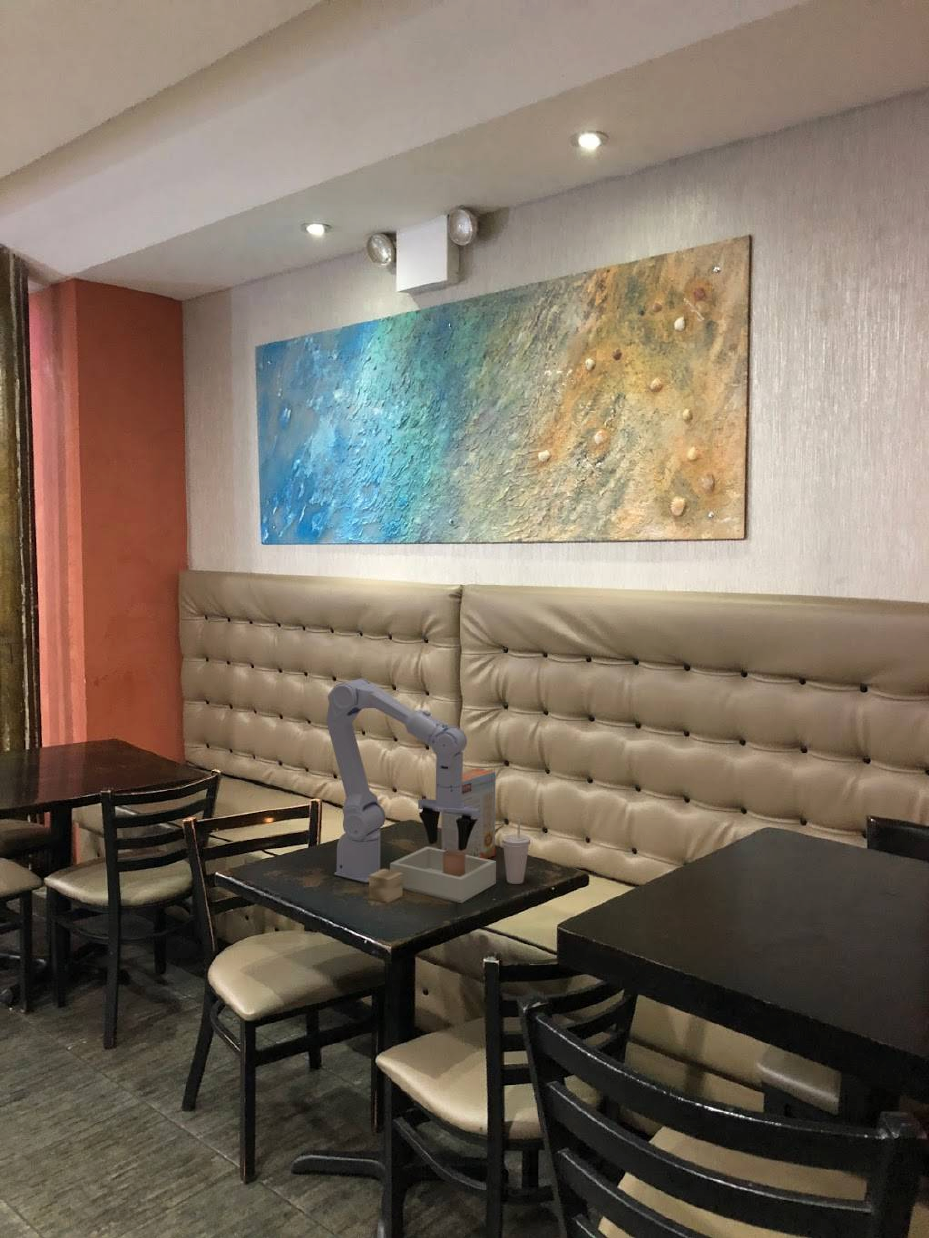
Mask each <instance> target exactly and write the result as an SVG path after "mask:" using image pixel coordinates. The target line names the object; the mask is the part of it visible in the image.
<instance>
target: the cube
mask: <svg viewBox="0 0 929 1238" xmlns="http://www.w3.org/2000/svg"><path fill="white" fill-rule="evenodd" d="M368 883H369V886H368V887H369V888H368V892H369V893H368V894H369V895H368V899H372V900H375V901H380V902H383V903H387V904H389V903H391V902H393V901H396V900H397V899H398V898H401V897H403V889H402V887H403V873H400V872H396V871H391V870H390V869H387V868H382V870H380V871H378V872H375V873H373V874H371V875H369V882H368Z"/></svg>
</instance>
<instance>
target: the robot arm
mask: <svg viewBox="0 0 929 1238" xmlns="http://www.w3.org/2000/svg"><path fill="white" fill-rule="evenodd" d="M327 700H328V703H329V704H328V709H327V715H326V725H327V728H328V732H329V737H330V741H331V743H332V748H333V752H334V755H335V760H336V765H337V768H338V770H339V775H340V779H341V781H342V786H343V790H344V793H345V801H344V803H343V806H342V814H343V820H342V827H343V828H342V829H343V831H344V833H343V834H342V835H341V836H340V837H339V838H338V841H337V843H336V844H337V846H336V871H335V872H334V875H335V876H338V877H343V878H346V879H349V880H354V881H357V882H358V881H359V882H361V883H365V884H368V883H369V875H371V874H373V873H375V872H378V871H380V870H382V869H383V868H382V869H381V828H382V827H383V826H384V825H385V822H386V817H387V816H386V811H385V810H384V808H383V807H382V805H381V804H380V802H379V799H378V797H377V795H376V794H375V793H373V791H371V789H370V786H369V783H368V779H367V775H366V772H365V768H364V764H363V759H362V756H361V752H360V749H359V745H358V741H357V736H356V733H355V729H354V726H353V722H355V721H354V720H356V718H357V716H358V715H359V713H360V711H362V710H363V709H365V710H366V709H376V710H378V711H379V712H380V713H381V712H382V713H383V714H385V715H387V716H389V717H390V718H392V719H394V720H396V721H398V722H399V723H401V724H403V725H404V726H405V729H406V732H407V733H408V734H409V735H411V736H413V737H414V738H416V739H418V740H419V741H421V742H423V743H424V744H426V745H427V746H428V747H431V749H432V751H433V753H434V755H435V756H436V758H435V759H436V760H435V761H436V763H435V765H436V766H435V798H434V799H433V798H431V799H429V798H421V799H418V801H417V802H418V803H417V806H418V807H417V809H418V810H421V811H420V812H419V814H418V816H419V818H420V820H421V821H422V824H423V826H424V828H425V831H426V835H427V840H428V844H429V845H433V844H435V843H437V842H438V835H439V834H438V831H439V830H438V829H439V819H440V816H441V815H440V814H441V813H442V812H443V813H448V814H454V815H459V816H462V818H459V819H457V820H456V823H457V827H458V834H459V844H458V846H459V850H460V851H462V850H464V849H466V848H467V844H468V840H469V837H470V834H471V831H472V829H473V827H474V825H475V823H476V822H477V820H478V818H479V817H480V809H478V808H474V807H471V806H468V805H465V804H463V803H462V773H463V769H464V767H463V764H464V763H463V760H464V759H463V755H464V753H463V751H464V750H465V748H466V747H467V744H468V739H467V735H466V734H465V732H464V731H463V730H462V729H460V727H459V726H453V725H452V726H449V723H447V722H445V721H444V722H442V721H441V720H439V719H437V718H435V717H433V716H432V715H431V714H432V712H430V711H429V710H422V709H419V710H414V711H413V710H412V709H411V708H409V707H408V706H406V705H404V704H403V703H402V702H400V701H399V700H397V699H396V698H394V697H393V696H391V695H390V694H388V692H386V691H384V690H382V689H381V687H380V686H379V685H377V684H376V683H374V682H370V680H368V679H367V678H363V677H361V678H360V677H359V678H356V679H354V680H353V679H352V680H350V681H346V682H339V683H337V684H336V685H335V686H334V687H332V689H331V691H330V692H329V693H328V695H327Z"/></svg>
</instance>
